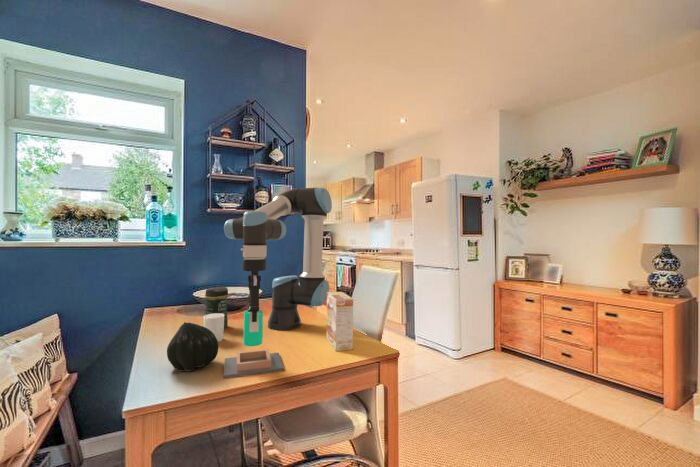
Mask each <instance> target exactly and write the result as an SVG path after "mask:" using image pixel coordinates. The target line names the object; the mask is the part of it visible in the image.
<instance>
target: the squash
mask: <svg viewBox="0 0 700 467" xmlns="http://www.w3.org/2000/svg"><path fill="white" fill-rule="evenodd" d="M218 352H219V342H218V341H217V339H216V337H215V335H214V333H213V332H212V331H210V330H209V329H207V328H205V327H204V325H203V326H202V325H199V324H196V323H193V322H186V321H185V322H183V323H182V324H181V325H180V326H179V328H178V329H177V331H176V333H175V334H174V335H173V337H172V338H171V340H170V341H169V342H168V345H167V347H166V356H167V360H168V362H169V363H170V364H171V365H172V367H173V368H174V369H176V371H181V372H183V371H186V372H192V371H194V370H195V369H196V368H202V367H204V365H205V366H206V365H208V364H209V365H210V363H212V362H213V361H214V360H215V359H216V357H217V355H218Z"/></svg>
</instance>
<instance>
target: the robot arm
mask: <svg viewBox="0 0 700 467" xmlns="http://www.w3.org/2000/svg"><path fill="white" fill-rule="evenodd" d="M332 206H333V202H332V198H331V195H330V192H329V191H328V190H327V188H325V187H302V188H298V187H297V188H296V187H295V188H292V189H289V190H287V191H284V192H282V193H279V194H278V195H276V196H275V197H274V198H273V199H272V200H271V201H269V202H268V203H266V204H264V205H262V206H260V207H259V208H257V209H254V210H253V211H252V210H251V211H250V210H247V211H245V212H244V213H243V216H242V217H239V218H232V219H230V218H229V219H228V220H226V221H225V223H224V225H223V232H224V235H225V237H226V238H228V239H230V240H243V241H242V248H240V251H241V252H242V257H243V259H242V271H244V272H250V274H249V275H247V283H248V291H249V293H248V294H249V297H248V298H249V299H248V306H249V307H248V309H247V311H248V312H250V328H249V332H258V322H259V310H260V288H261V281H262V280H261V278H262V277H261V275H259V272H261V271H262V272H263V271H266V269H267V259H266V257H267V253H268V252H267V250H268V249H267V247H268V246H267V241H278V240H281V239H283V238H284V237H285V236H286V234H287V225H286V224H285V222H283V220H280V219H278V218H280V217H282V216H284V217H285V216H287V215H289V214H301V218H302V219H303V220H304V229H303V230H304V234H303V236H304V237H303V263H302V264H303V265H302V273H301V274H299V277H298V275H286V276H280V277H275V278H273V280H272V283H271V284H272V286H271V301H272V302H271V311H270V315H269V317H268V320H267V327H268V328H269V329H271V330H276V331H287V330H289V331H290V330H295V329H297V328H299V327H300V326H301V324H302V320H301V317H300V313H299V311H298V306H309V307H321V306H323V305H324V304H325V303H326V302H327V292H330V285H329V284H330V283H329V281H327V280H326V276H325V275H324V274H323V272H322V271H323V250H324V249H323V246H324V245H323V241H324V221H325V220H326V219H327V218H328V216H327V215H328V214H330V213H331V212H332V208H333V207H332ZM298 278H299V279H298Z"/></svg>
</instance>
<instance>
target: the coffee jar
mask: <svg viewBox="0 0 700 467" xmlns="http://www.w3.org/2000/svg"><path fill="white" fill-rule="evenodd" d="M228 297H229V290H228V287H227V286H226V287H225V286H216V287H210V288H206V290H205V295H204V298H205V301H206V302H205V303H206V304H205V305H206V309H205V315H208V314H214V313H220V314H224V329H225V328H228V325H229V324H228V323H229V322H228V309H227V304H228V303H227V302H228Z"/></svg>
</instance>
